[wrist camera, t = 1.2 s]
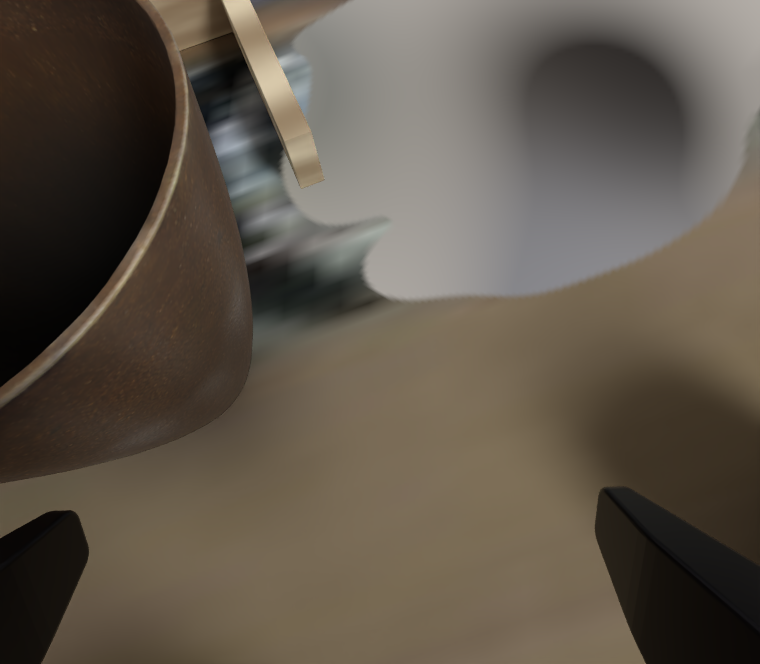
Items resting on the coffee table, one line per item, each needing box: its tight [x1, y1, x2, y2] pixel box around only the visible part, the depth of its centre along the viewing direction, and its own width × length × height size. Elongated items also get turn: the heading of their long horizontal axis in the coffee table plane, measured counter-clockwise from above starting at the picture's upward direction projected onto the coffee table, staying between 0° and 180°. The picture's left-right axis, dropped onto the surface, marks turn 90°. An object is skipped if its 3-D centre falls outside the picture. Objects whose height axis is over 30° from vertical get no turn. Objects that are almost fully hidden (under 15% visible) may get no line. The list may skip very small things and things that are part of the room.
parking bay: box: [149, 0, 324, 189], centre depth 29 cm, size 16×22×4 cm
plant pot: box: [0, 0, 253, 483], centre depth 18 cm, size 15×15×16 cm
